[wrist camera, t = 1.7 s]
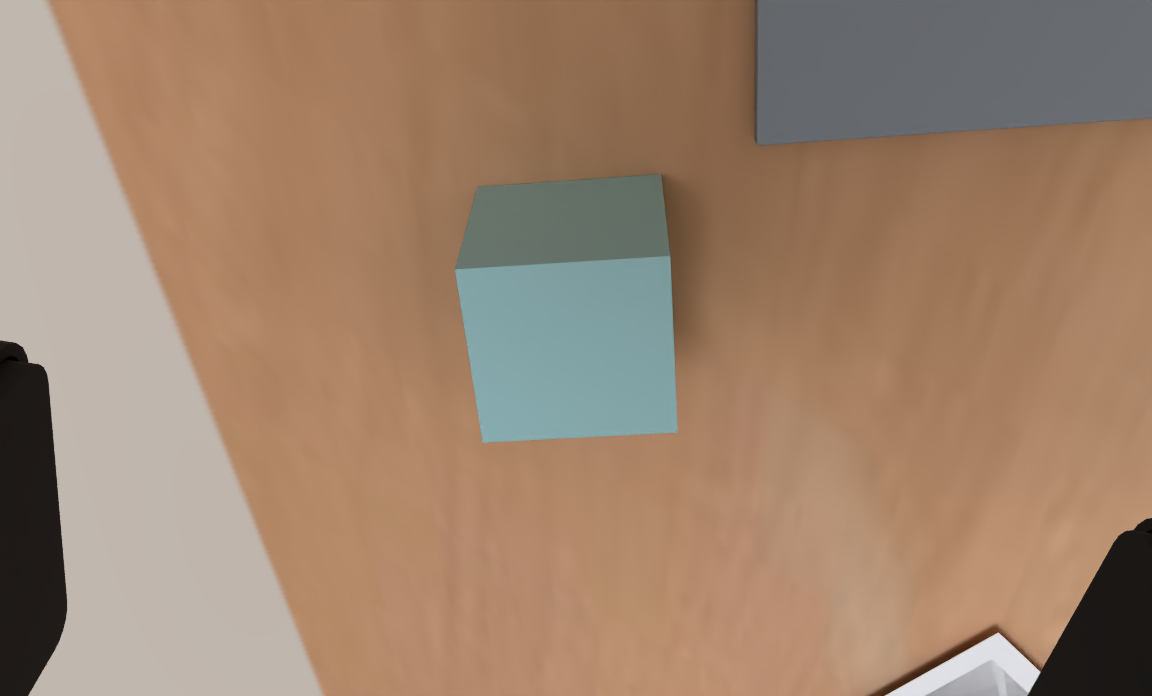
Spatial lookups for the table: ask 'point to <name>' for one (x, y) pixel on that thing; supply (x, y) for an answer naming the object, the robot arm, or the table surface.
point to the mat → (946, 66)
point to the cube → (569, 309)
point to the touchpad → (977, 673)
